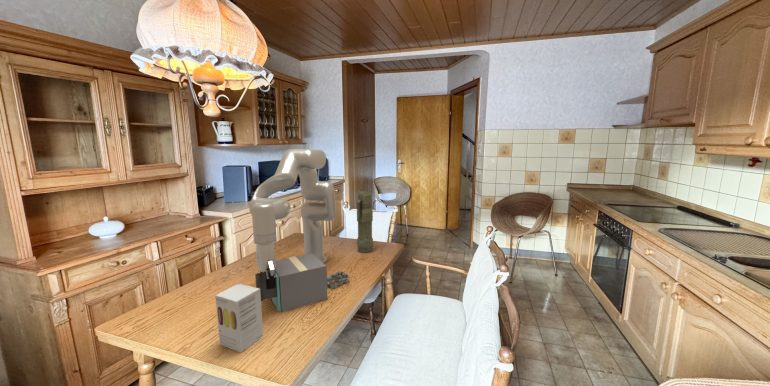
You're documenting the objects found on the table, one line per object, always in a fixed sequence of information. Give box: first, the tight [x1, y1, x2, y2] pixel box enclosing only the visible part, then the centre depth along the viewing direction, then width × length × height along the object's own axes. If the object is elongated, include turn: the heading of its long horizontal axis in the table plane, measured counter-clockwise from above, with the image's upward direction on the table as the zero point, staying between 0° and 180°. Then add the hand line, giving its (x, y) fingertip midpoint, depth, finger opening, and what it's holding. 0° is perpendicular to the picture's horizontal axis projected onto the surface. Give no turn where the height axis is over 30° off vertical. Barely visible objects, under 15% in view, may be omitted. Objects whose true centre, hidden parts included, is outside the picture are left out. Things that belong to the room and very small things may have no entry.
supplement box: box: [215, 282, 264, 353], centre depth 99 cm, size 10×9×17 cm
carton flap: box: [254, 270, 281, 312], centre depth 120 cm, size 16×8×16 cm, turn 32°
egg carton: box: [327, 270, 351, 289], centre depth 140 cm, size 11×8×4 cm
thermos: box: [356, 188, 374, 254], centre depth 177 cm, size 9×12×35 cm
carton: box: [275, 253, 328, 313], centre depth 127 cm, size 16×18×14 cm
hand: (268, 283), depth 114 cm, fingers open, 9 cm apart
